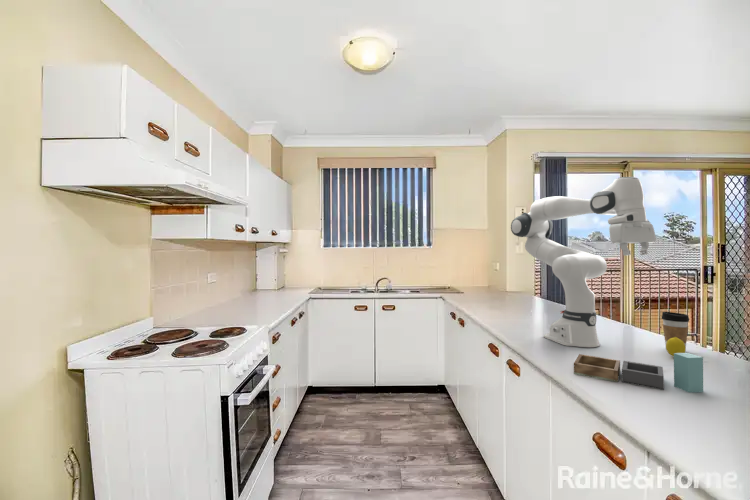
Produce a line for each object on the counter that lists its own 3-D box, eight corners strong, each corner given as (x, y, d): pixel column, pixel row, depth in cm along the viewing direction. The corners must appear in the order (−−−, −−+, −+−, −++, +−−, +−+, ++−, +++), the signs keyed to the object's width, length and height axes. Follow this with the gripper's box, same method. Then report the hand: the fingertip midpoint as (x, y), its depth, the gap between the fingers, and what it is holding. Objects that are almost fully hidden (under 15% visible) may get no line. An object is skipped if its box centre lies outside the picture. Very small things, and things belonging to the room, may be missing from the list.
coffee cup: (660, 346, 143) (660, 310, 143) (687, 349, 138) (687, 312, 138) (663, 351, 136) (662, 313, 136) (691, 354, 131) (691, 315, 131)
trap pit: (621, 381, 107) (621, 369, 107) (623, 372, 114) (623, 360, 114) (663, 389, 100) (663, 376, 100) (662, 379, 108) (662, 366, 108)
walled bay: (573, 373, 114) (573, 363, 114) (579, 363, 123) (579, 354, 123) (617, 382, 106) (617, 370, 106) (620, 371, 116) (620, 360, 116)
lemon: (689, 361, 124) (689, 339, 124) (672, 360, 126) (671, 338, 126) (679, 356, 130) (679, 335, 130) (662, 355, 131) (662, 334, 131)
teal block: (674, 386, 103) (673, 353, 103) (688, 385, 103) (687, 352, 103) (688, 392, 98) (688, 357, 98) (703, 391, 99) (702, 357, 99)
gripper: (640, 220, 135) (644, 255, 134) (604, 219, 128) (608, 256, 127) (658, 217, 129) (663, 253, 128) (621, 216, 122) (626, 255, 121)
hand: (635, 255), depth 127 cm, fingers open, 8 cm apart
